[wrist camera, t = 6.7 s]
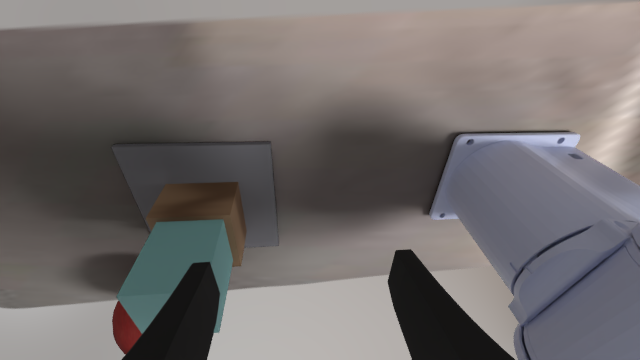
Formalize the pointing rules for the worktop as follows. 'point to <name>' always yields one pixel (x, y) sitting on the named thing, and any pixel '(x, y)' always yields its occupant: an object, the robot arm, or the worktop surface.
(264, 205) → the mat
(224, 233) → the teal block
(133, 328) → the red round piece
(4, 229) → the worktop surface
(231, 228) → the walnut block
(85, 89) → the worktop surface
